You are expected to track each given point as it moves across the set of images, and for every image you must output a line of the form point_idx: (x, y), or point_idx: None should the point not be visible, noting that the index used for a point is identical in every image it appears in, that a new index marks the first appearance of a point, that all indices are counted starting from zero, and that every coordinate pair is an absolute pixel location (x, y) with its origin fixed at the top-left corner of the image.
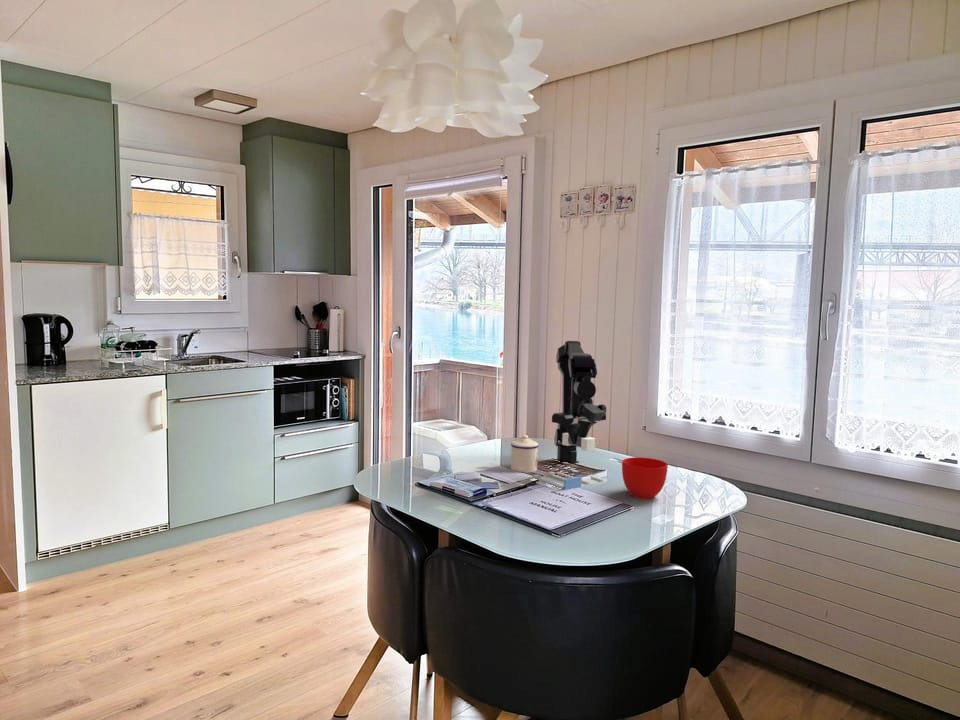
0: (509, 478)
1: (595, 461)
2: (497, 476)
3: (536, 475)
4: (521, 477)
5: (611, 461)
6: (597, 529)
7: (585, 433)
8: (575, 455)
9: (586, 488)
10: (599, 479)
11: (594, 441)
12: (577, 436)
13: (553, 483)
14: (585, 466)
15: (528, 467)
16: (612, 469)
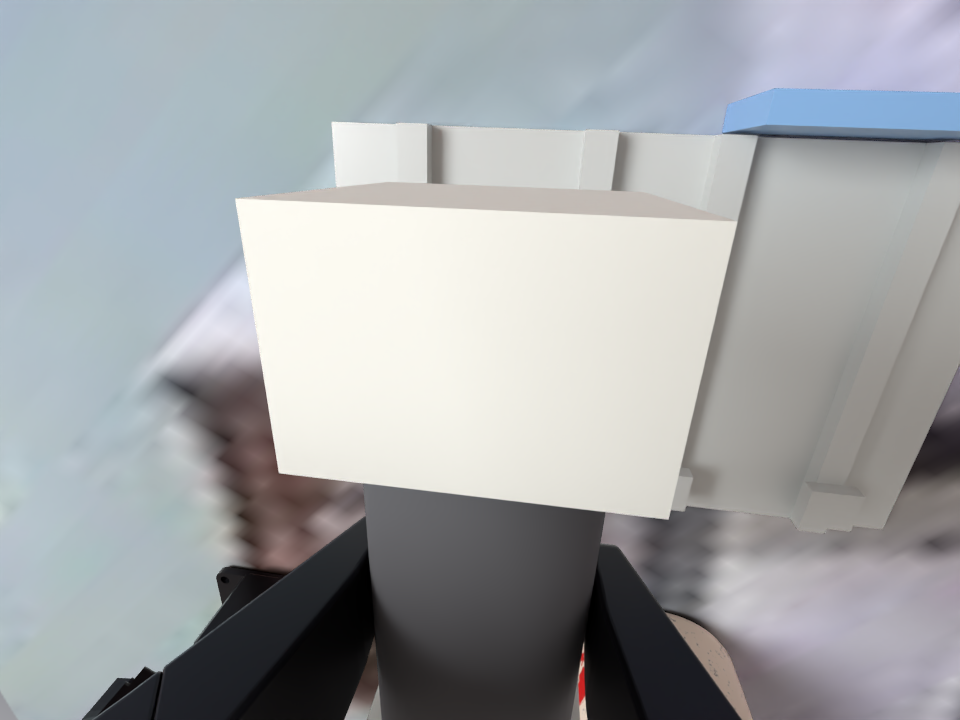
0: (908, 617)
1: (102, 536)
2: (921, 682)
3: (845, 509)
4: (817, 587)
5: (5, 483)
6: None
7: (257, 688)
8: (227, 615)
9: (693, 64)
10: (427, 145)
11: (334, 191)
12: (480, 708)
13: (921, 291)
14: (228, 506)
15: (698, 653)
16: (97, 359)
